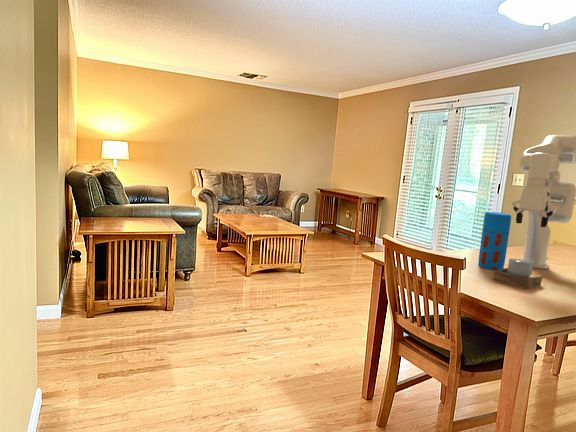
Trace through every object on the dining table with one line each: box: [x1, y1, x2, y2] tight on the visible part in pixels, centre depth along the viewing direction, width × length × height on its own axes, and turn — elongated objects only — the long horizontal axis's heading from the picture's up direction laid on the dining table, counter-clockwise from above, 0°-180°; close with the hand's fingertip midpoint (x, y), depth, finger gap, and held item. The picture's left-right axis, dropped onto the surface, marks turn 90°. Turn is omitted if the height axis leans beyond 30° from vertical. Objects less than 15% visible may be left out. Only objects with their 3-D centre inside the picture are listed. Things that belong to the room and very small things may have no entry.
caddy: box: [492, 267, 543, 290], centre depth 165 cm, size 12×13×4 cm
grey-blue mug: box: [507, 258, 533, 278], centre depth 166 cm, size 14×8×9 cm, turn 125°
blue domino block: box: [477, 211, 512, 271], centre depth 187 cm, size 11×11×25 cm
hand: (530, 225), depth 169 cm, fingers open, 9 cm apart
